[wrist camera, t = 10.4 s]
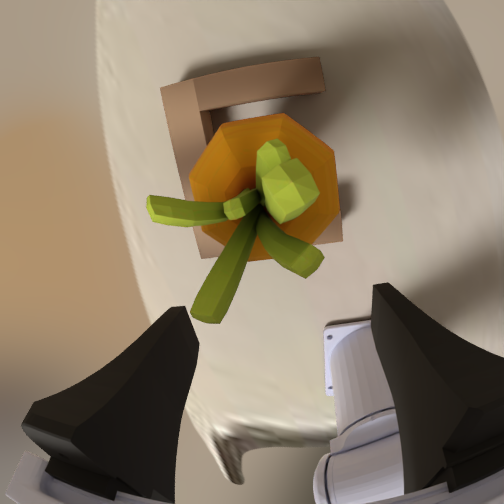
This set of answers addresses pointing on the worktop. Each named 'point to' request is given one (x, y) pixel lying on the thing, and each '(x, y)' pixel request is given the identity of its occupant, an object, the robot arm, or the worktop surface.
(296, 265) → the carrot
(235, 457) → the worktop surface
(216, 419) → the worktop surface
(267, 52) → the worktop surface
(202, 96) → the walnut bracket
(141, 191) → the worktop surface
